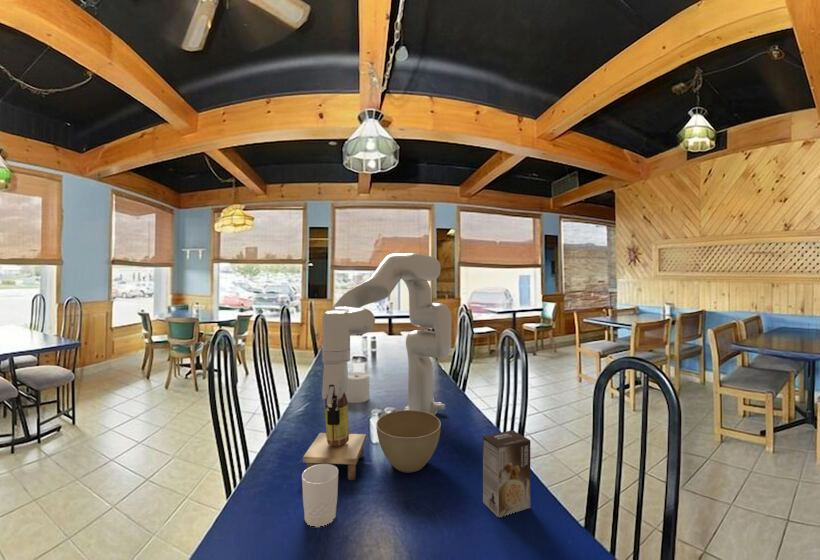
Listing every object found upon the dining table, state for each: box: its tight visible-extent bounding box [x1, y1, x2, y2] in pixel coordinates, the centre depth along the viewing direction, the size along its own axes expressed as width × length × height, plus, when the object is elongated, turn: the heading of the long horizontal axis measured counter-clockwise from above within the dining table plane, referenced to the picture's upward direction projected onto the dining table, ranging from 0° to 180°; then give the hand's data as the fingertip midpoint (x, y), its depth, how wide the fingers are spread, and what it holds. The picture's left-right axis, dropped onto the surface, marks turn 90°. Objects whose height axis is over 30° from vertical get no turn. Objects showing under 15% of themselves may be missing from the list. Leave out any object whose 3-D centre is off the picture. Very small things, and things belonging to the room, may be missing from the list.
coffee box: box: [482, 429, 531, 519], centre depth 85 cm, size 9×6×16 cm
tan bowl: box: [375, 409, 442, 474], centre depth 103 cm, size 18×18×12 cm
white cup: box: [301, 463, 339, 528], centre depth 81 cm, size 8×8×10 cm
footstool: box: [302, 432, 367, 481], centre depth 102 cm, size 14×14×6 cm
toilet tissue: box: [345, 371, 370, 404], centre depth 155 cm, size 11×12×10 cm
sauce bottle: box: [324, 393, 350, 446], centre depth 102 cm, size 7×6×20 cm
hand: (337, 418), depth 102 cm, fingers closed on sauce bottle, 6 cm apart
